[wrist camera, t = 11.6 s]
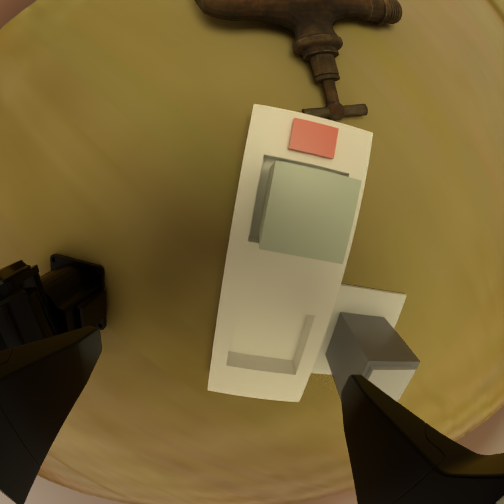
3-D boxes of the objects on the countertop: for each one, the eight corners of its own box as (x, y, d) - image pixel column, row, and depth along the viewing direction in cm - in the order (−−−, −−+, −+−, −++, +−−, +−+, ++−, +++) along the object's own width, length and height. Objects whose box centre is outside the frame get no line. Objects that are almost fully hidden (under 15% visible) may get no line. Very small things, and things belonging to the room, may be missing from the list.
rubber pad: (302, 369, 24) (302, 372, 23) (330, 281, 21) (331, 283, 21) (371, 373, 24) (372, 375, 23) (404, 293, 21) (406, 295, 21)
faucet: (367, -15, 14) (410, 117, 19) (190, -7, 14) (224, 141, 20) (388, -35, 10) (442, 115, 15) (182, -35, 10) (221, 137, 15)
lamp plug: (258, 228, 19) (259, 248, 14) (270, 167, 18) (275, 160, 12) (318, 239, 19) (342, 264, 14) (331, 180, 18) (361, 180, 13)
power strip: (295, 380, 24) (299, 407, 20) (212, 369, 24) (206, 395, 20) (357, 138, 18) (377, 131, 15) (254, 114, 18) (253, 100, 15)
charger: (325, 354, 23) (345, 412, 15) (340, 311, 22) (370, 364, 14) (367, 357, 23) (395, 410, 16) (383, 316, 22) (422, 364, 14)
